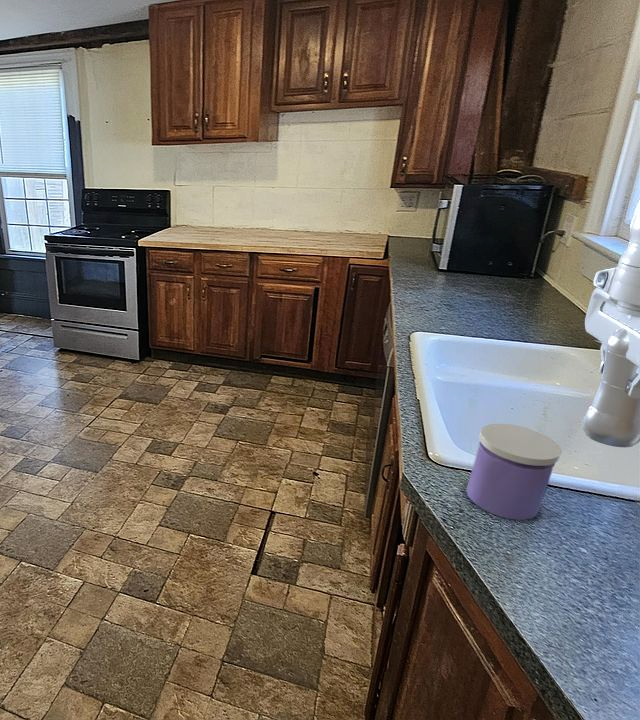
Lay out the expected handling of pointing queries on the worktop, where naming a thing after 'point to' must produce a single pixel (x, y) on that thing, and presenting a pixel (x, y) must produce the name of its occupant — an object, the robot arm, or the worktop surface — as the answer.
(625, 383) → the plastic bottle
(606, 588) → the worktop surface
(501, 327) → the worktop surface
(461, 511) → the worktop surface
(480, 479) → the jar
